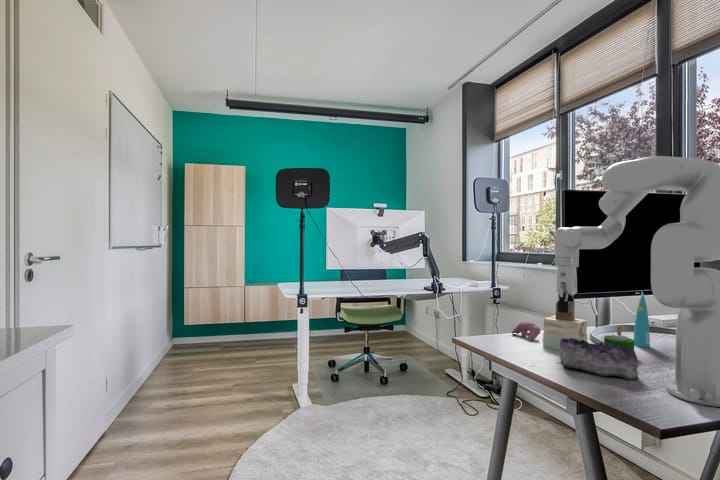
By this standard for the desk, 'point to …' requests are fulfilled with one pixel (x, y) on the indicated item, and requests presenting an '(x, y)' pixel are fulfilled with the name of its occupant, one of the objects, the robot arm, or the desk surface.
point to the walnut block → (566, 316)
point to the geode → (599, 358)
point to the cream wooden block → (565, 327)
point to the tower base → (557, 340)
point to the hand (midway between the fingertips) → (565, 310)
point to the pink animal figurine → (523, 329)
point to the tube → (642, 325)
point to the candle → (619, 339)
